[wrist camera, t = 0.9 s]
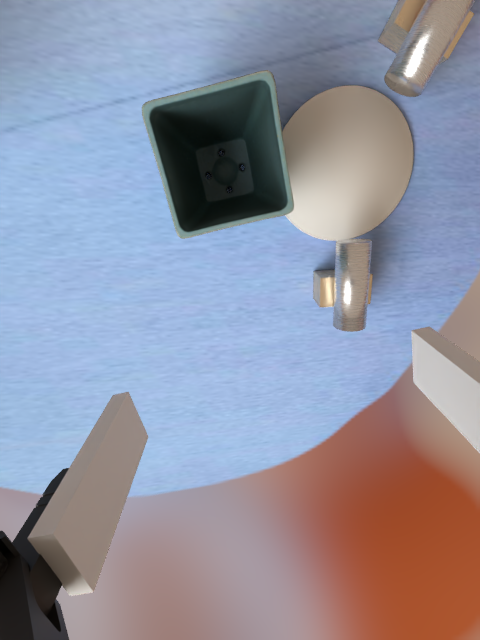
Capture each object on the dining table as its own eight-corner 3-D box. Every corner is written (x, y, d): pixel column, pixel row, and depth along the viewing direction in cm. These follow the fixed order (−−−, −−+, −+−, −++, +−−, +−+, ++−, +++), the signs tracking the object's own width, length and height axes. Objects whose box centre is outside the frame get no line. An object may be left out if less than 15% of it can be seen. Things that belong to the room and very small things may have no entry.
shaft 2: (401, 115, 28) (441, 96, 23) (354, 86, 27) (384, 58, 22) (461, 12, 26) (523, -39, 20) (410, -24, 25) (460, -88, 19)
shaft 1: (313, 237, 32) (329, 246, 26) (363, 233, 32) (390, 241, 26) (313, 311, 35) (327, 333, 29) (358, 308, 35) (381, 329, 29)
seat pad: (245, 149, 29) (245, 148, 29) (374, 50, 26) (376, 48, 26) (314, 265, 33) (315, 265, 33) (432, 189, 30) (434, 189, 30)
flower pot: (262, 105, 28) (273, 66, 20) (280, 208, 31) (295, 212, 23) (167, 130, 29) (138, 103, 20) (194, 228, 32) (178, 240, 23)
